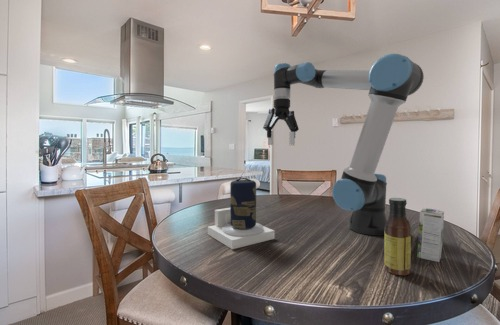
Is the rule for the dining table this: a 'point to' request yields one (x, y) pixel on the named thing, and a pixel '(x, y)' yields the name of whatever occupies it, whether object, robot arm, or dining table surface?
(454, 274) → the dining table surface
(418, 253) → the syrup box
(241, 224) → the canister
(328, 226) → the dining table surface
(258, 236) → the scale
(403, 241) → the sauce bottle
